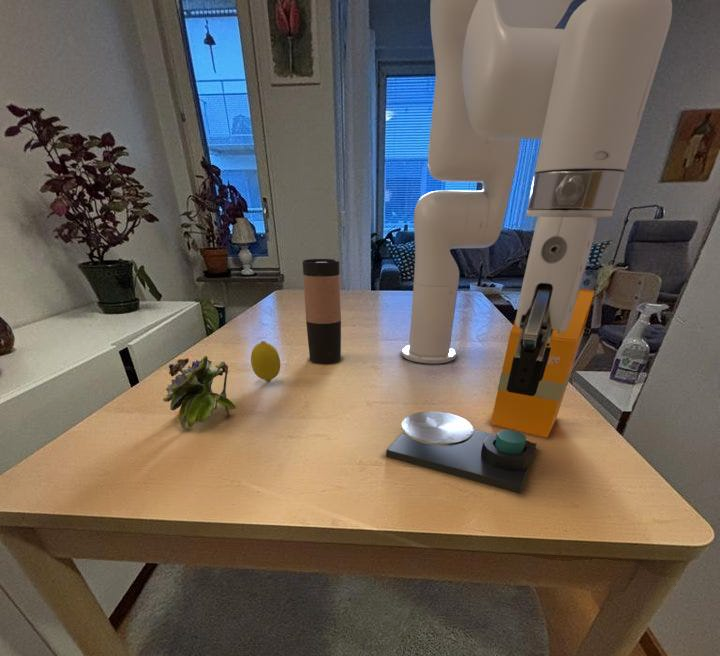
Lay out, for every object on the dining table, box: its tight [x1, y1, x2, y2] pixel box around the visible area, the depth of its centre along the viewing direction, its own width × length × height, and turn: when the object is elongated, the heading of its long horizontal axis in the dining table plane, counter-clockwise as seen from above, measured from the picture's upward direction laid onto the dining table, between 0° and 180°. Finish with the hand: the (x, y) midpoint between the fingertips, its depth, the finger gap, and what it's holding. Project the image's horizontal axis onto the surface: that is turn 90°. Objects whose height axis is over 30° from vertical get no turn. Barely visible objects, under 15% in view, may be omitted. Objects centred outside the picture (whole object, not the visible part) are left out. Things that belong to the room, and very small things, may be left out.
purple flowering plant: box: [162, 355, 237, 431], centre depth 64 cm, size 11×11×12 cm
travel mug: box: [302, 258, 342, 365], centre depth 85 cm, size 8×8×20 cm
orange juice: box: [490, 288, 596, 438], centre depth 59 cm, size 8×9×20 cm
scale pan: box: [401, 410, 475, 446], centre depth 55 cm, size 10×10×1 cm
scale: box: [385, 429, 537, 494], centre depth 55 cm, size 12×18×3 cm, turn 62°
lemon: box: [250, 340, 281, 383], centre depth 76 cm, size 6×6×8 cm
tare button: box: [495, 429, 527, 454], centre depth 51 cm, size 4×4×2 cm
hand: (524, 384), depth 47 cm, fingers open, 4 cm apart
